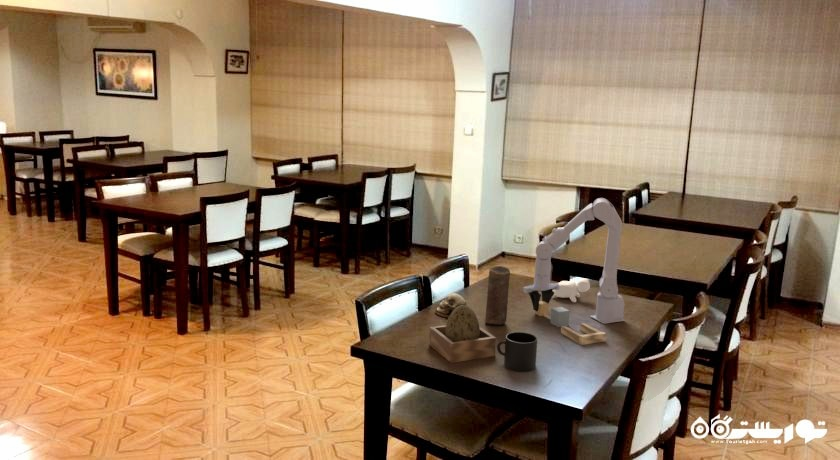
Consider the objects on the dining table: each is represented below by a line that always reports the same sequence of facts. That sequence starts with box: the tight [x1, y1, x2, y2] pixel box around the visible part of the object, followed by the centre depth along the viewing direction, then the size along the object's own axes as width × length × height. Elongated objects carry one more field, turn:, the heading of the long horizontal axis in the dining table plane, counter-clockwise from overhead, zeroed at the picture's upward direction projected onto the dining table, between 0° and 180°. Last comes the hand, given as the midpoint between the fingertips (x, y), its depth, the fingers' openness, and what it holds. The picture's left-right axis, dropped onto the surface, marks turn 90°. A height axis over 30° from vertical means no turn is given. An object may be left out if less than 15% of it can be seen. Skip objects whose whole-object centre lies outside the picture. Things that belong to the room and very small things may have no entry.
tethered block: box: [535, 300, 571, 328], centre depth 252 cm, size 4×15×6 cm, turn 24°
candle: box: [484, 265, 511, 326], centre depth 245 cm, size 8×7×20 cm
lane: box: [560, 323, 607, 346], centre depth 236 cm, size 10×12×3 cm
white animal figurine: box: [552, 278, 591, 303], centre depth 277 cm, size 9×8×15 cm
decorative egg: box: [445, 304, 481, 342], centre depth 220 cm, size 11×11×15 cm
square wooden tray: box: [428, 324, 497, 364], centre depth 221 cm, size 15×15×6 cm
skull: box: [435, 292, 467, 318], centre depth 257 cm, size 12×10×10 cm
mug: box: [496, 331, 538, 373], centre depth 211 cm, size 9×12×9 cm
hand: (539, 309), depth 259 cm, fingers closed on tethered block, 3 cm apart
